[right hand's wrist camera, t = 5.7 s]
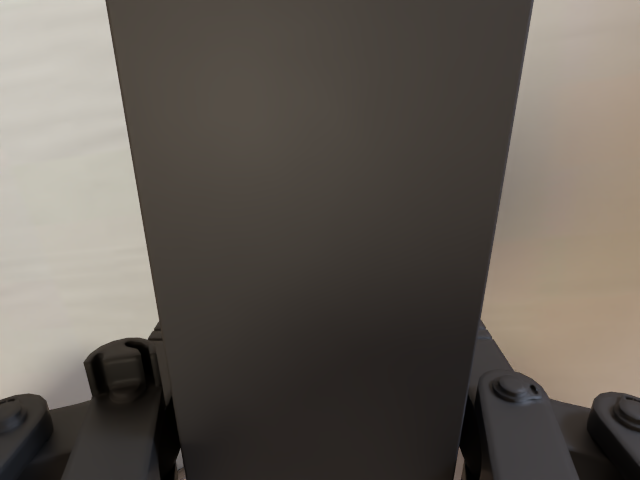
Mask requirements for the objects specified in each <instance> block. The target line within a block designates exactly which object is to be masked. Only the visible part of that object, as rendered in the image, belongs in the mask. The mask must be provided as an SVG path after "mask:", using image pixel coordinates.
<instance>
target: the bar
mask: <svg viewBox="0 0 640 480" xmlns="http://www.w3.org/2000/svg"><path fill="white" fill-rule="evenodd" d="M533 2H534V0H106V6H107V12H108V18H109V24H110V30H111V36H112V42H113V48H114V54H115V60H116V66H117V72H118V78H119V83H120V89H121V95H122V101H123V107H124V113H125V119H126V125H127V131H128V137H129V143H130V149H131V155H132V161H133V167H134V173H135V179H136V185H137V190H138V196H139V202H140V208H141V214H142V220H143V226H144V232H145V238H146V244H147V250H148V256H149V262H150V268H151V274H152V280H153V286H154V292H155V297H156V303H157V309H158V315H159V321H160V327H161V333H162V339H163V345H164V351H165V357H166V363H167V369H168V375H169V381H170V387H171V393H172V399H173V405H174V410H175V416H176V422H177V428H178V434H179V440H180V446H181V452H182V458H183V464H184V470H185V476H186V480H453V479H454V473H455V467H456V461H457V455H458V449H459V443H460V437H461V431H462V425H463V419H464V413H465V407H466V401H467V395H468V389H469V383H470V377H471V371H472V365H473V359H474V353H475V347H476V342H477V336H478V330H479V324H480V318H481V312H482V306H483V300H484V294H485V288H486V282H487V276H488V270H489V264H490V258H491V252H492V246H493V240H494V234H495V228H496V222H497V216H498V210H499V204H500V198H501V192H502V187H503V181H504V175H505V169H506V163H507V157H508V151H509V145H510V139H511V133H512V127H513V121H514V115H515V109H516V103H517V97H518V91H519V85H520V79H521V73H522V67H523V61H524V55H525V49H526V43H527V38H528V32H529V26H530V20H531V14H532V8H533Z"/></svg>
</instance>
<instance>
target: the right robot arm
mask: <svg viewBox="0 0 640 480" xmlns="http://www.w3.org/2000/svg"><path fill="white" fill-rule="evenodd" d="M84 366H85V370H86V374H87V378H88V381H89V385H90V389H91V393H92V399H91V400H90V401H86V402H83V403H79V404H75V405H71V406H66V407H62V408H57V409H53V410H49V408H48V405H47V402H46V400H45V399H43V398H42V397H41V396H40V395H34V394H22V395H14V396H11V397H8V398H5V399H2V400H0V480H186V476H185V470H184V467H183V468H182V469H180V470H178V471H177V465H176V459H177V456H178V453H179V451H180V448H181V446H180V440H179V434H178V428H177V422H176V416H175V410H174V405H173V399H172V393H171V387H170V381H169V375H168V369H167V363H166V357H165V351H164V345H163V339H162V333H161V327H160V321H159V322H158V324H157V325H156V327H155V328H154V331H153V332H152V333H151V335H150V336H149V338H148V340H146V339H142V338H125V339H120V340H116V341H112V342H110V343H108V344H105V345H103V346H101V347H99V348H98V349H96V350H95V351H94V352H92V353H91V354H90V355H89V356H88V357H87V359H86V360H85V361H84ZM459 447H460V449H461V452H462V455H463V457H464V465H463V471H462V477H461V480H640V398H638V397H635V396H632V395H628V394H625V393H617V392H607V393H602V394H599V395H598V396H597V397H596V398H595V399H594V401H593V404H592V407H591V409H590V408H586V407H581V406H577V405H572V404H568V403H563V402H560V401H556V400H553V399H549V398H548V395H547V394H546V392H545V391H544V389H543V388H542V387H541V386H540V385H539V384H538V383H537V382H535V381H534V380H533V379H531V378H529V377H527V376H525V375H523V374H521V373H518V372H515V371H514V370H513V369H512V367H511V366H510V364H509V363H508V361H507V360H506V358H505V356H504V355H503V353H502V352H501V350H500V349H499V347H498V346H497V344H496V343H495V341H494V339H492V336H491V335H490V333H489V332H488V330H486V327H485V326H484V324H483V322H482V321H481V319H480V324H479V330H478V336H477V342H476V347H475V353H474V359H473V365H472V371H471V377H470V383H469V389H468V395H467V401H466V407H465V413H464V419H463V425H462V431H461V437H460V443H459Z"/></svg>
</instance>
